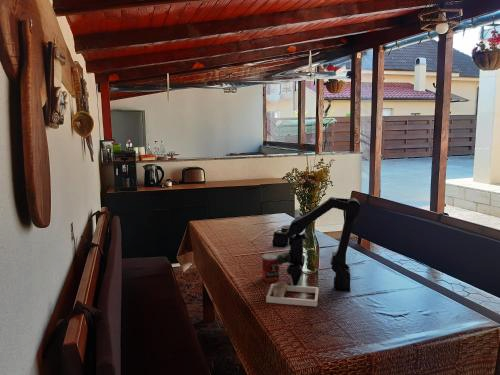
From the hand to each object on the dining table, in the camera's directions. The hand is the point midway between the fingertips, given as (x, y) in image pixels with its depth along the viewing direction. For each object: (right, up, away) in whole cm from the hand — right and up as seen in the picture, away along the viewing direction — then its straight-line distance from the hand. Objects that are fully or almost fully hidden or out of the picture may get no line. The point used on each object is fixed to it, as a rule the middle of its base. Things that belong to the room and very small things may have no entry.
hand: (296, 282), depth 182 cm
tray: (-3, -3, -12) cm, 13 cm away
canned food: (-11, 0, +7) cm, 13 cm away
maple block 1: (-7, -3, -8) cm, 11 cm away
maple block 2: (-9, -4, -15) cm, 17 cm away
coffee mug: (+1, +8, +64) cm, 64 cm away
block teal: (0, -1, 0) cm, 1 cm away
